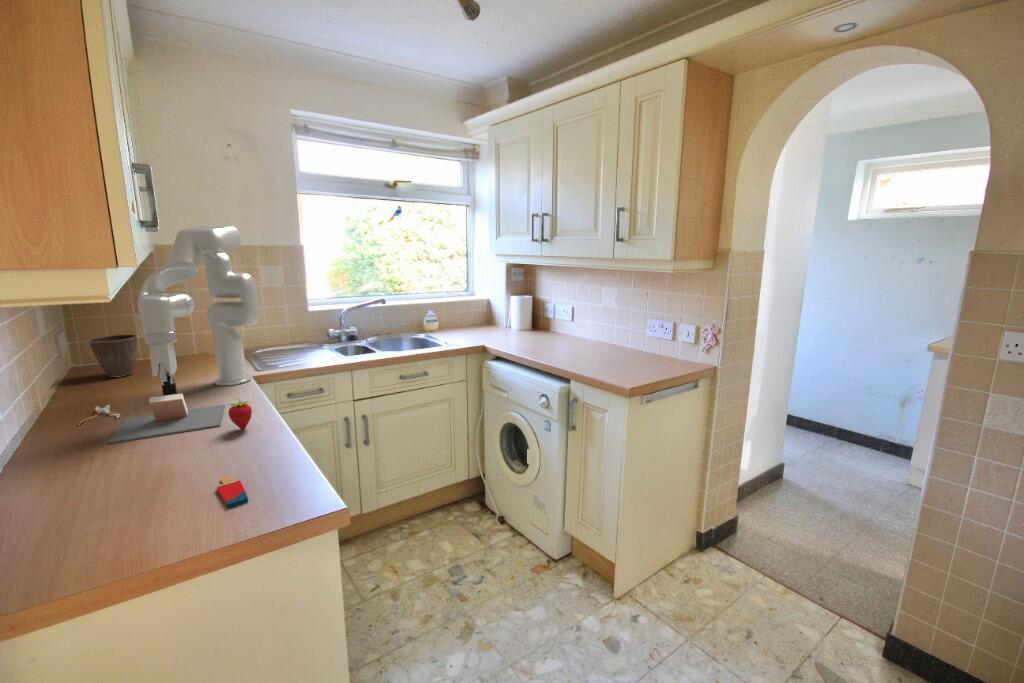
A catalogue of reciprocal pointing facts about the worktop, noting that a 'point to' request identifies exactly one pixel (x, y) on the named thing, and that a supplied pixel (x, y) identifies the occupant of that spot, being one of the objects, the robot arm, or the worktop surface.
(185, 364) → the worktop surface
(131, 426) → the mat
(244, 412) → the strawberry
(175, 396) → the tile
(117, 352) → the plant pot
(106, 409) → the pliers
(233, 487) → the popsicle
